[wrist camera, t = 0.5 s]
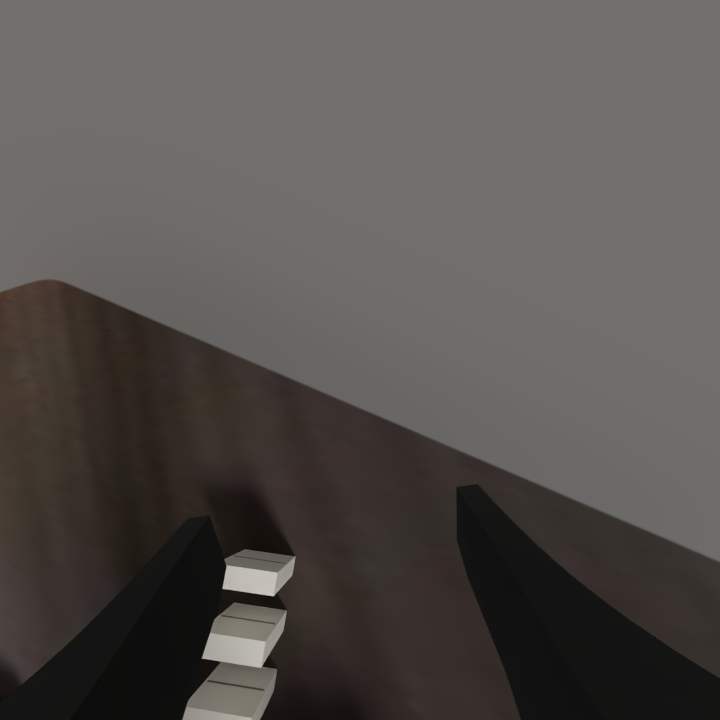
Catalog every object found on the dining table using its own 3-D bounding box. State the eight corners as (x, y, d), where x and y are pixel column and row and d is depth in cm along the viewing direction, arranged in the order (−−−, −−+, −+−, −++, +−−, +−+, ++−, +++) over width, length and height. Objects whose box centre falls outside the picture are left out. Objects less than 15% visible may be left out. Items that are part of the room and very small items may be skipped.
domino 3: (273, 691, 33) (247, 747, 25) (218, 682, 33) (176, 735, 26) (277, 668, 33) (252, 717, 26) (222, 659, 33) (183, 706, 26)
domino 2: (283, 630, 34) (260, 668, 27) (230, 622, 34) (193, 657, 27) (286, 610, 35) (265, 641, 27) (234, 602, 35) (199, 631, 28)
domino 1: (292, 575, 36) (273, 596, 28) (241, 568, 36) (209, 587, 29) (295, 556, 36) (277, 572, 29) (245, 549, 36) (215, 563, 29)
